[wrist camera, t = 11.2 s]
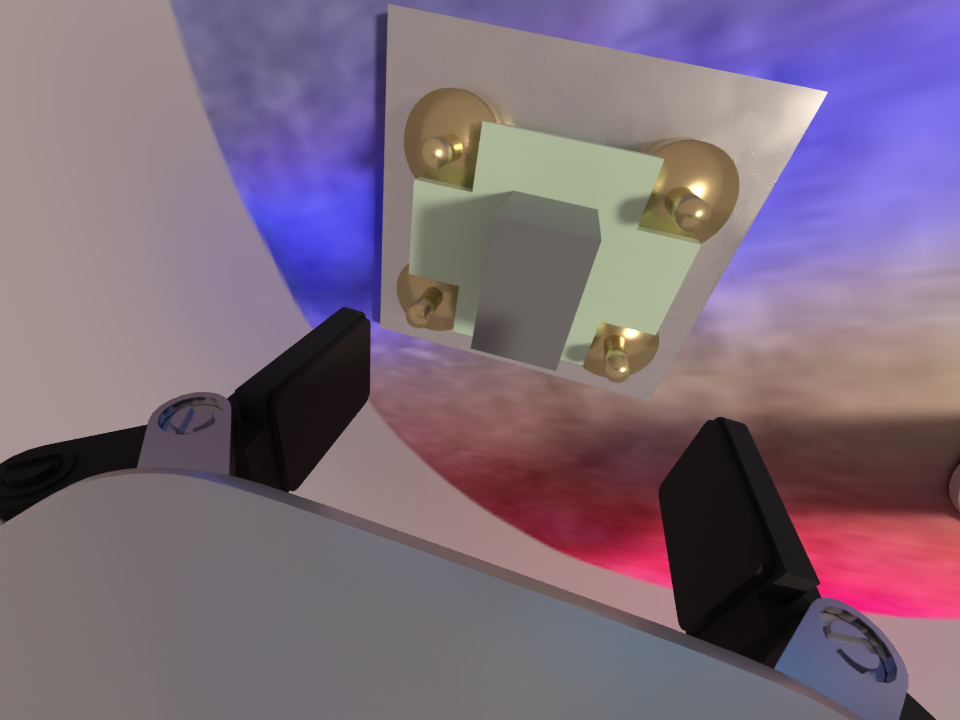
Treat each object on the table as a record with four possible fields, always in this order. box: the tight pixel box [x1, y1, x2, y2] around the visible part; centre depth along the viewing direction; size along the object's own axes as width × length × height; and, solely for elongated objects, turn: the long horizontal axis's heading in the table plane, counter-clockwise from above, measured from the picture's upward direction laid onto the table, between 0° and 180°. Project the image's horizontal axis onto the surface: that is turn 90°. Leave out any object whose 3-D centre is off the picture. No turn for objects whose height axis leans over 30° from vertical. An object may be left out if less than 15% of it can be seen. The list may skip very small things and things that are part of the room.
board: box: [409, 121, 702, 371], centre depth 18 cm, size 14×11×6 cm
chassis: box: [380, 4, 828, 402], centre depth 21 cm, size 20×18×7 cm
